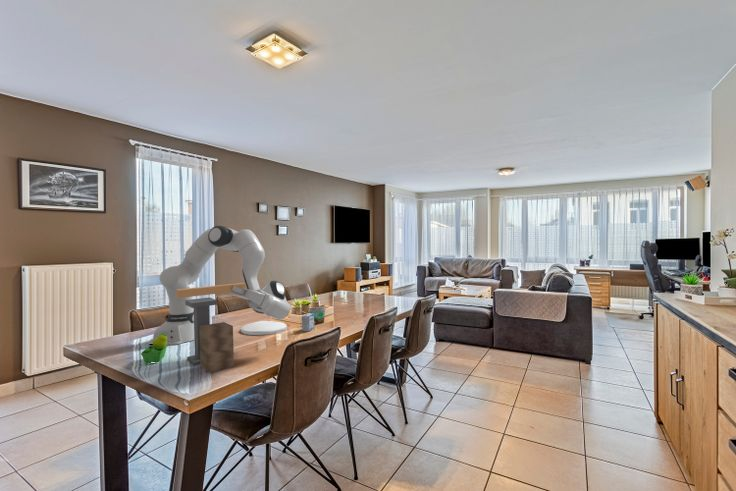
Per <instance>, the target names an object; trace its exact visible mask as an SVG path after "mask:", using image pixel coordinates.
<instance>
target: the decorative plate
mask: <svg viewBox="0 0 736 491" xmlns="http://www.w3.org/2000/svg"><path fill="white" fill-rule="evenodd" d="M287 327H288V326H287V324H286V323H284V322H283V321H272V320H260V321H255V322H251V323H248V324H245V325H243V326H242V327H241V328H240V333H242V334H244V335H247V336H266V335H267V336H268V334H269V335H276V334H278V333H281V332H284V331H286V330H287Z"/></svg>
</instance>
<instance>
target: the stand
mask: <svg viewBox="0 0 736 491" xmlns="http://www.w3.org/2000/svg"><path fill="white" fill-rule="evenodd" d="M185 305H187V306H189V307H191V308H193V311H194V340H193V341H194V354H193V355H188V356H186V360H187V362H189V364H191V365H192V366H193V367H195V366H200V332H199V326H203V325H209V324H211V323H210V322H211V318H210V316H211V315H210V306H217V305H218V300H217V298H212V297H201V298H193V299H192V300H185Z"/></svg>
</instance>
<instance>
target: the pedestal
mask: <svg viewBox="0 0 736 491" xmlns="http://www.w3.org/2000/svg"><path fill="white" fill-rule="evenodd" d="M199 332H200V365H199V366H200V367H201V368H202V369H204V370H205V371H206V372H207V373H208V374H210V373H212V372H217V371H221V370H224V369H229V368H232V367H235V355H234V353H235V352H234V326H233V325H231V324H229V323H227V322H225V321H223V322H222V321H221V322H217V323H210V324H209V325H203V326H199Z"/></svg>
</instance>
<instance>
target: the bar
mask: <svg viewBox="0 0 736 491" xmlns="http://www.w3.org/2000/svg"><path fill="white" fill-rule="evenodd" d="M232 286H236V287H238V288H241V289H243V288H244V289H246V283H245V282H238V283H237V282H236V283H229V284H217V285H207V286H200V287H199V286H197V287H188V288H186V289H176V297H177V298H184V297H193V298H194V297H200V296H201V297H202V296H209V295H218V294H219V295H220V294H226V293H231V292H236V291H233V290H231V288H232Z"/></svg>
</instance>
